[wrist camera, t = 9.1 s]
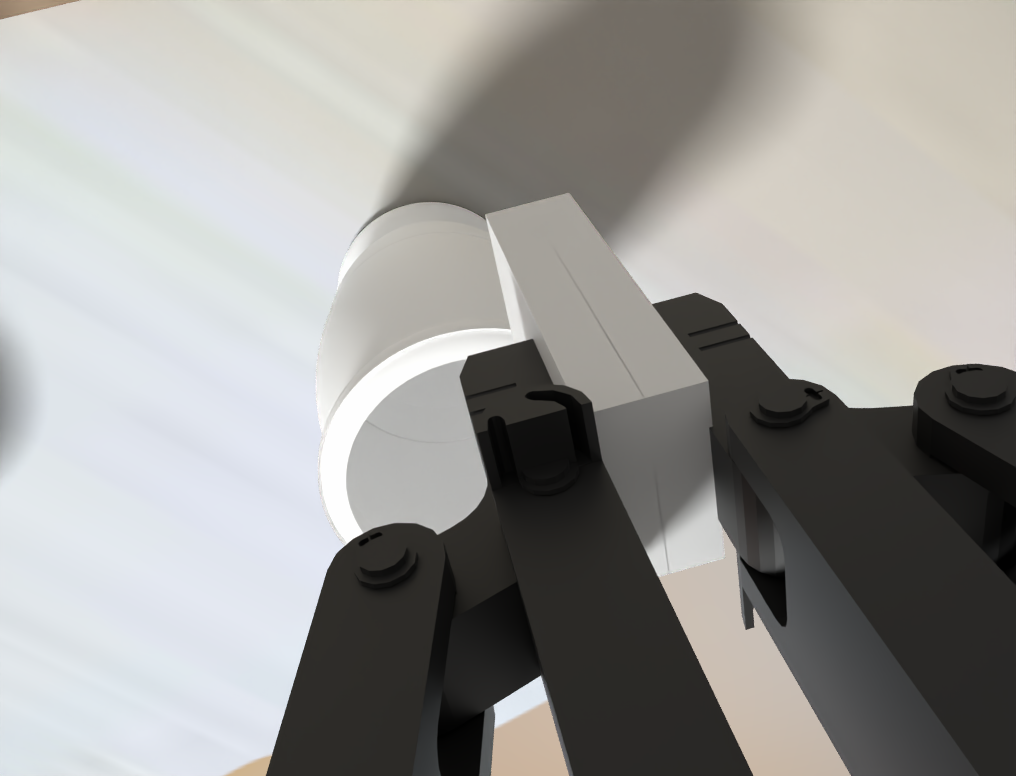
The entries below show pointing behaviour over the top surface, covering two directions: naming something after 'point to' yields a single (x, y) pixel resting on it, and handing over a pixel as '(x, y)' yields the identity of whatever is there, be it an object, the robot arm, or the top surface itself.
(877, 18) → the top surface
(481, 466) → the jar
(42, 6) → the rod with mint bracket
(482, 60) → the top surface
